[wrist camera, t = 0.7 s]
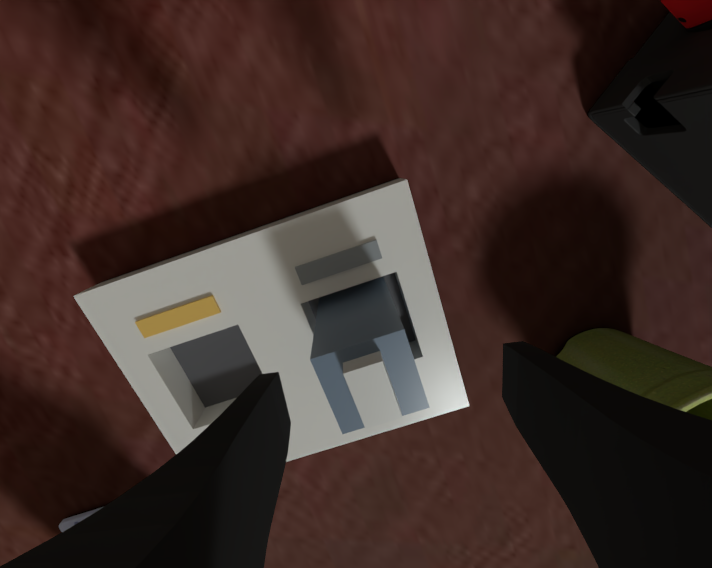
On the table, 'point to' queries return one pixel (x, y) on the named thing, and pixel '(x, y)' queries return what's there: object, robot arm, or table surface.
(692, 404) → the plant pot
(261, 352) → the socket panel
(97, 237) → the table surface
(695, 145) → the game console
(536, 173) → the table surface
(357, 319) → the plug
